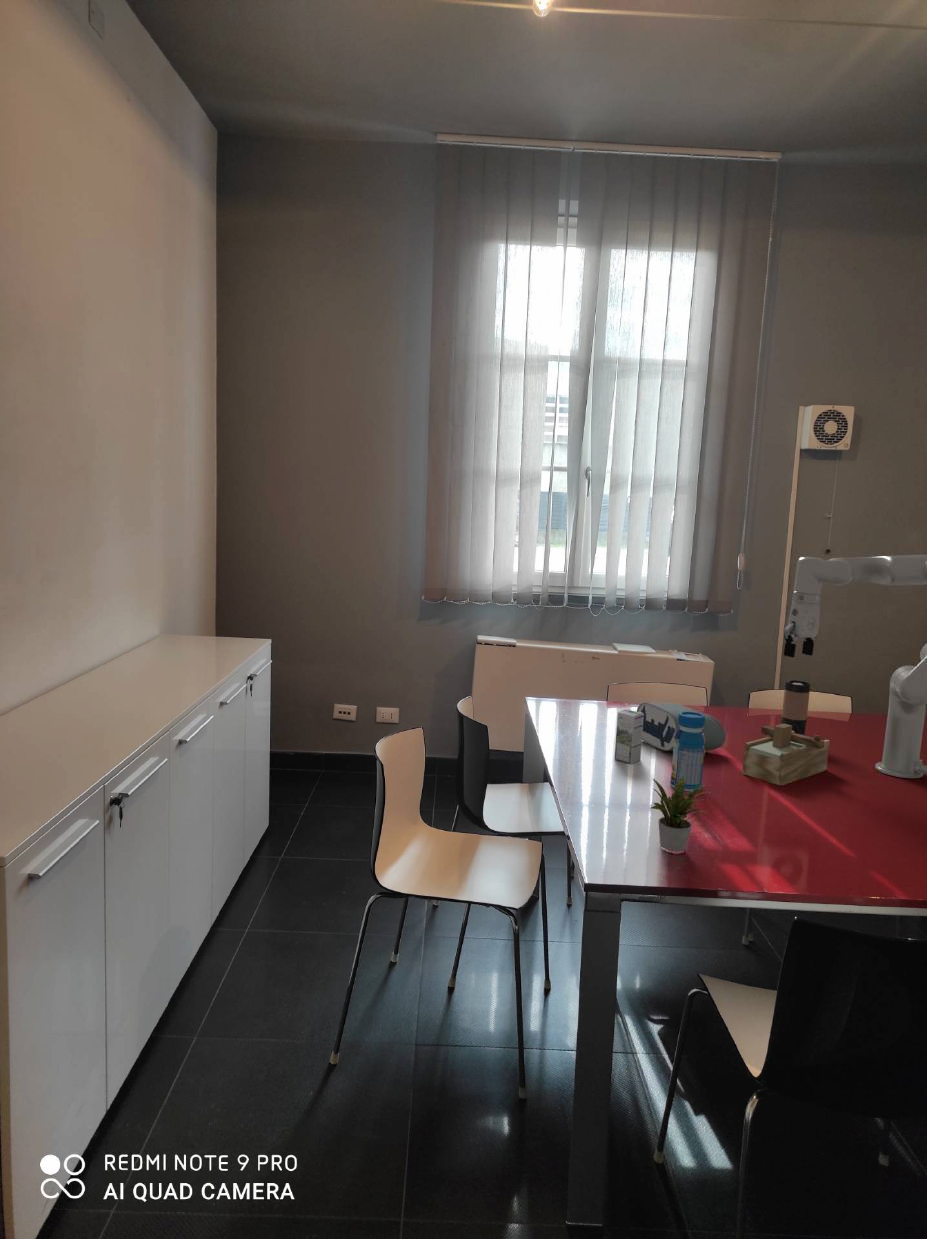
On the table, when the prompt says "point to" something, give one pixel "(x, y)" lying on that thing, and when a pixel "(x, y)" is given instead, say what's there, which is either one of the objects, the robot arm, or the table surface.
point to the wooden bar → (798, 738)
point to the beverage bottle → (689, 750)
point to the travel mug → (796, 705)
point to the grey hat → (675, 726)
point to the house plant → (676, 816)
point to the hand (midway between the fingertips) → (798, 655)
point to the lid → (777, 743)
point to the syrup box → (629, 736)
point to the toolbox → (785, 763)
